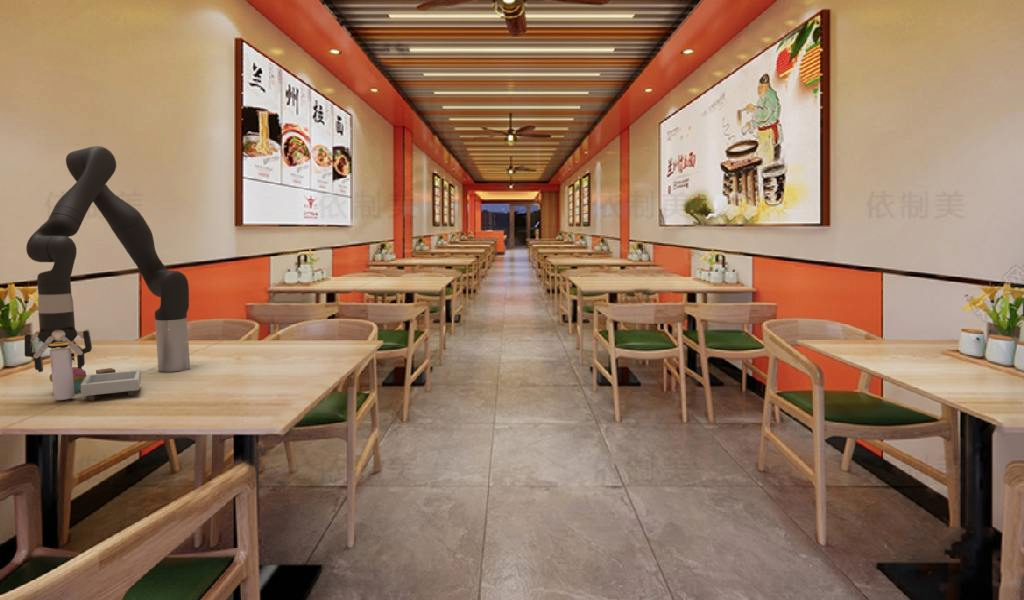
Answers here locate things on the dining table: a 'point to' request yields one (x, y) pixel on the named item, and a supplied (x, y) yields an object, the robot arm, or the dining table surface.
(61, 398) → the perfume bottle
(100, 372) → the walnut block
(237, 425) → the dining table surface
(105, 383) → the cart
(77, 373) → the cupcake
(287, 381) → the dining table surface
